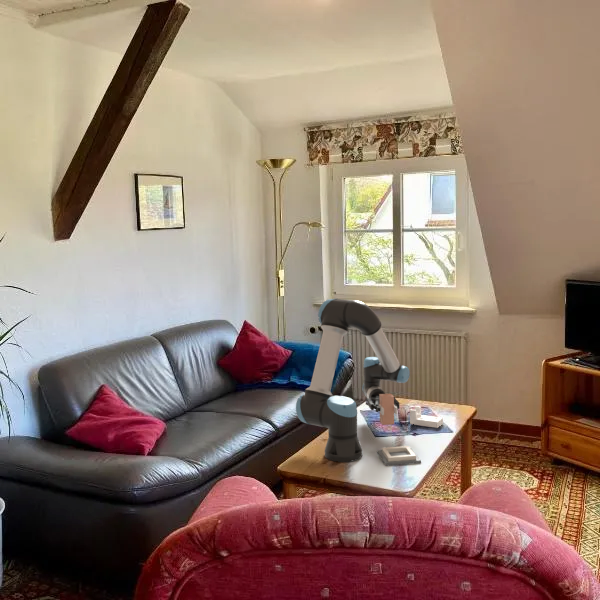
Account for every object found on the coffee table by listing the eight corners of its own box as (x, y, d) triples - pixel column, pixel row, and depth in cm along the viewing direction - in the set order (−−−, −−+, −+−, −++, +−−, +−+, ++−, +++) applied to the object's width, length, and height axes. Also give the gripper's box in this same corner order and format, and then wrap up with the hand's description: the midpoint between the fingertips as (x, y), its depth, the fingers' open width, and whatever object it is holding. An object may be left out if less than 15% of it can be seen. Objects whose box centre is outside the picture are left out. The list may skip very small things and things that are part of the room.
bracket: (410, 426, 303) (409, 409, 302) (415, 421, 309) (415, 405, 308) (437, 429, 297) (437, 413, 296) (442, 425, 303) (442, 409, 302)
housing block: (382, 425, 280) (382, 397, 278) (379, 421, 285) (379, 394, 283) (394, 424, 280) (393, 396, 279) (391, 420, 285) (390, 393, 284)
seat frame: (385, 465, 257) (385, 459, 257) (377, 452, 271) (377, 446, 270) (421, 462, 259) (420, 456, 258) (410, 450, 272) (410, 444, 272)
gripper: (396, 403, 301) (411, 418, 278) (357, 405, 299) (368, 421, 276) (396, 387, 300) (410, 401, 277) (357, 389, 298) (368, 404, 275)
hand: (389, 411), depth 276 cm, fingers closed on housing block, 5 cm apart
